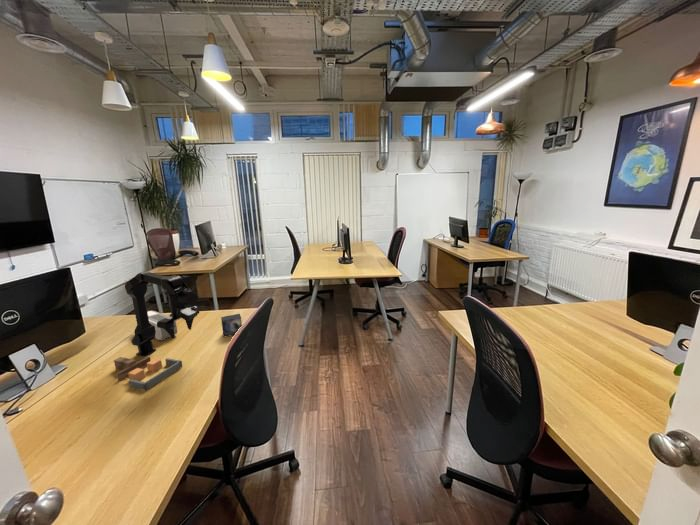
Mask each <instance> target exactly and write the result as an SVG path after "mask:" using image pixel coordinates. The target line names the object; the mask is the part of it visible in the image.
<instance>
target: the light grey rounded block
mask: <svg viewBox="0 0 700 525" xmlns="http://www.w3.org/2000/svg"><path fill="white" fill-rule="evenodd" d="M147 313H148V319H149V323H150V324H152V325H154V326H155V331H156V332H155V333H156V334H155V339H156V340H159V341H163V339H164V340H166V339H165V338H167V337H169V338H171V337H170V335H169V334H168V332H167V331H166V330H165V329H163V328H158V327H157V322H158V321H160V320H162V319H164V318H166V319H171V318H172V317H170V315H167V314H164V313H161V312H158V311H155V310H147ZM174 326H175V327H174V334H175V335H177V334H178V327H177V326H178V325H177V322H176V321H174ZM167 339H168V338H167Z"/></svg>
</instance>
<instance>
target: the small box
mask: <svg viewBox="0 0 700 525" xmlns="http://www.w3.org/2000/svg"><path fill="white" fill-rule="evenodd" d="M220 320H221V328H222V329H221V330H222V334H223V335H224V336H228V337H230V336H229V335H232V336H235V335H234V334H235V333H236V332H237V331H238V329H239V328H240V327H241V326H242V327H243V322H242V316H241V313H236V314H230V315H226V316H224V315H223V316H221V317H220ZM223 335H222V336H223ZM224 336H223V337H224Z"/></svg>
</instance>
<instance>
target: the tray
mask: <svg viewBox="0 0 700 525" xmlns="http://www.w3.org/2000/svg"><path fill="white" fill-rule="evenodd" d="M164 360H165V365H166V366H169V367H167V368H166V369H164V370H163V371H161V372H159V373H158V374H156V375H154V376H152V377H151V378H150V379H148V380H146V381H141V380H140V381H136V380H132V379H131V380H128V384H129V387H130V388H134V389H136V390H142V391H147V390H149V389H150V388H152V387H154V386H155V385H157V384H158V383H159V382H161V381H162V380H165V378H167V377H169V376H170V375H172V374H174V373H175V372H176V371H178V370H179V369H181V368H182V367H183V362H182V360H179V359H175V358H169V357H168V358H167V357H166V358H165V359H164Z"/></svg>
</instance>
